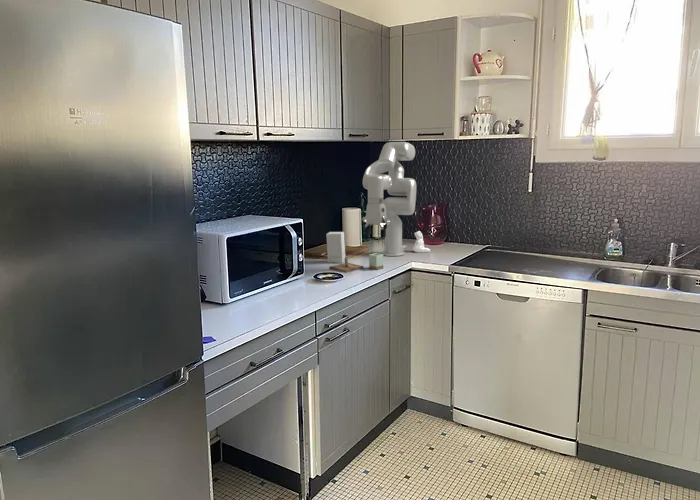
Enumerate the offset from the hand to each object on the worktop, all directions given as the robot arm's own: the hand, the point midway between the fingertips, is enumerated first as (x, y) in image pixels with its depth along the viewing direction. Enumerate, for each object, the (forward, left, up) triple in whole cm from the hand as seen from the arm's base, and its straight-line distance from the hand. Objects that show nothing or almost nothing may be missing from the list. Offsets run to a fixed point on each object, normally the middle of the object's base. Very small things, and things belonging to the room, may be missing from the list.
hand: (375, 236), depth 262 cm
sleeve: (0, 0, -16) cm, 16 cm away
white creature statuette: (-46, -9, -17) cm, 50 cm away
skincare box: (+3, -26, -16) cm, 31 cm away
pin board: (+10, -11, -16) cm, 22 cm away
